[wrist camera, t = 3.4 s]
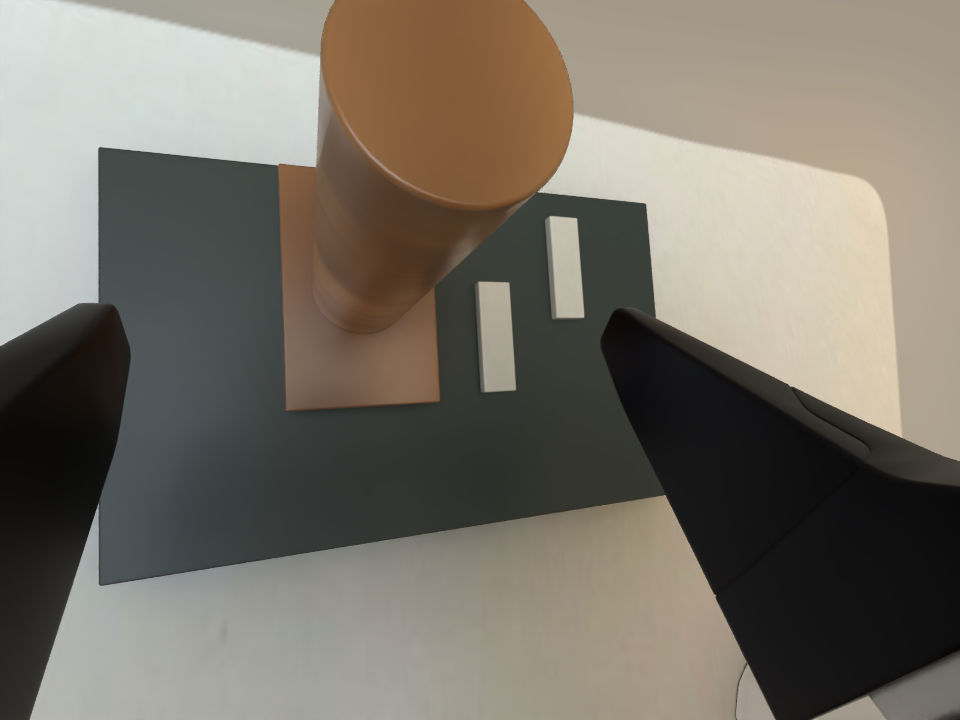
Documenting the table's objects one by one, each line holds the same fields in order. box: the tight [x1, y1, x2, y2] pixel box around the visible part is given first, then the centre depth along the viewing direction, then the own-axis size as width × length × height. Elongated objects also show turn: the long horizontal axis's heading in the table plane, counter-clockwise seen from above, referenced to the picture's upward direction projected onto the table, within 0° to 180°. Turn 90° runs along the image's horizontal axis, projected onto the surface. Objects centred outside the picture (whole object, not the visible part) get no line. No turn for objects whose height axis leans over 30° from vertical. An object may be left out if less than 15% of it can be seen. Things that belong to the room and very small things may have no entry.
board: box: [98, 147, 665, 586], centre depth 19 cm, size 22×14×1 cm, turn 93°
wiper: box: [278, 0, 573, 412], centre depth 12 cm, size 5×8×13 cm, turn 3°
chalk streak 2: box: [545, 216, 584, 320], centre depth 21 cm, size 1×4×1 cm, turn 3°
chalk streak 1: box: [475, 281, 516, 393], centre depth 19 cm, size 1×4×1 cm, turn 3°
